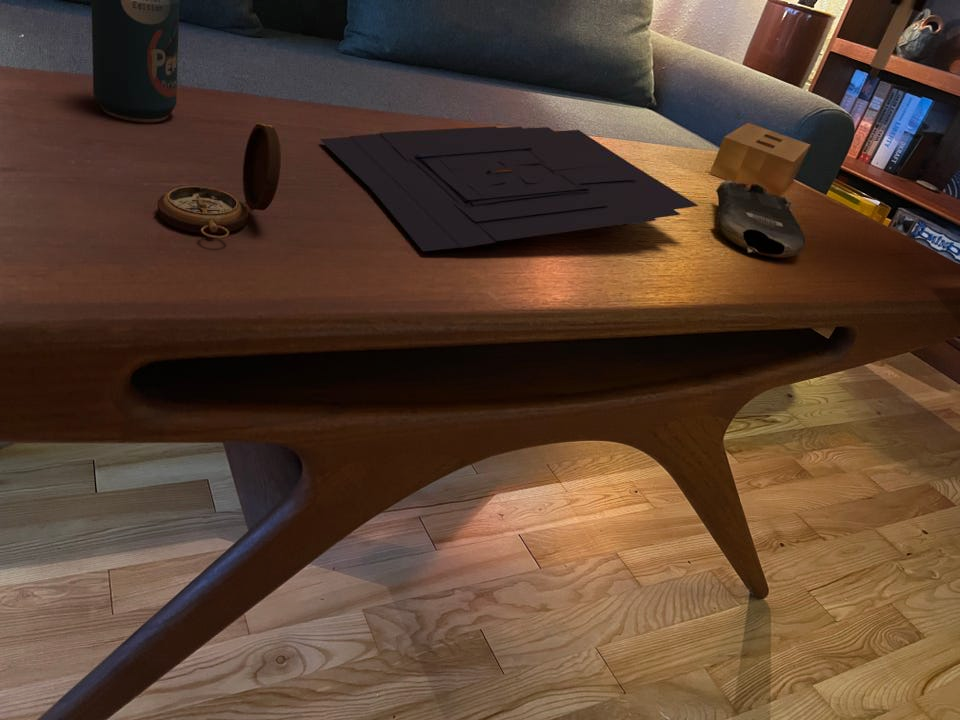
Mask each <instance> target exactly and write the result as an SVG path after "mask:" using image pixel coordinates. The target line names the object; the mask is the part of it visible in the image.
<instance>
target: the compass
mask: <svg viewBox="0 0 960 720" xmlns="http://www.w3.org/2000/svg"><path fill="white" fill-rule="evenodd" d="M281 155H282V152H281V143H280V138H279V135H278V133H277V131H276V128H275V127H274V126H273V125H272V124H267V123H263V122H262V123H261V122H256V124H255V125H254V127H253V128H252V129H251V132H250V134H249V136H248V139H247V142H246V146H245V151H244V156H243V163H242V164H243V165H242V187H243V188H242V190H243V195H244V200H245V202H244V203H242V202H240V201H239V200H238V199H236V197H234V196H233V195H231V194H230V193H228V192H226V191H223V190H220V189H217V188H212V187H209V186H200V185H199V186H198V185H197V186H195V185H190V186H180V187H177V188H174V189H172V190H171V191H169V192H167V193H166V194H163V195H161V196H159V198H158V199H157V203H156V204H157V205H156V206H155V212H156V213H157V215H158V216H159V217H160V218H161V219H162V220H163V221H164V222H165V223H167V224H168V225H170V226H172V227H174V228H177V229H179V230H181V231H186V232H190V233H194V234H195V233H196V234H202V235H204V236H205V237H207V238H212V239H224V238H227V237H228V236H229V235H230V232H235V231H237V230H238V229H240V228H242V227H244V226H245V224H246V223H247V220H248V217H249V213H251V212H252V211H255V210H257V211H265V210H266V209H268V208H269V206H271V204H272V202H273V200H274V198H275V195H276V193H277V190H278V185H279V182H280V174H281V166H282V165H281V164H282V163H281V162H282V156H281ZM218 234H219V235H218ZM220 234H224V235H220Z"/></svg>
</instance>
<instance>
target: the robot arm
mask: <svg viewBox="0 0 960 720" xmlns="http://www.w3.org/2000/svg"><path fill="white" fill-rule="evenodd" d="M900 2H901V0H890V3H889V4H892V5H895V6H898V5H899V4H900ZM927 2H928V0H917V1H916V3H915V5H914V7H913V11H917V12H920V13H922V12H923V10H924V8H925V6H926V4H927Z"/></svg>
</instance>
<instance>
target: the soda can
mask: <svg viewBox="0 0 960 720" xmlns="http://www.w3.org/2000/svg"><path fill="white" fill-rule="evenodd" d="M90 4H91V5H90V6H91V36H92V37H91V38H92V39H91V43H92V44H91V47H92V48H91V49H92V87H93V88H92V90H93V91H92V92H93V95H94V97H95V99H96V101H97V103H98V104H99V106H100V108H101V109H102V110H103V112H104V113H106V114H107V115H109V116H112V117H114V118H117V119H121V120H124V121H129V122H136V123H137V122H138V123H156V122H162V121H164V120H167V119H168V117H169V116H170V114H171V113H172V112H173V110H174V109H175V107H176V106H177V97H178V95H177V94H178V64H179V63H178V61H179V33H180V31H179V30H180V29H179V28H180V26H179V25H180V0H91V3H90Z"/></svg>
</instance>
